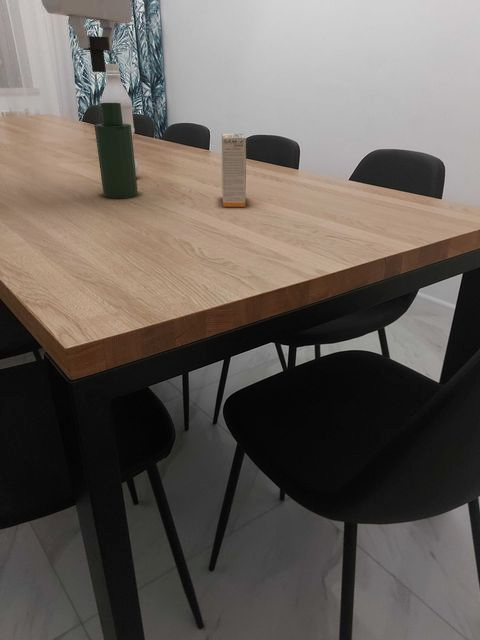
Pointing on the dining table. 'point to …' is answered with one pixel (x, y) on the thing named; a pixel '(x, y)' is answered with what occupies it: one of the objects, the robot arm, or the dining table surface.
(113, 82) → the water bottle
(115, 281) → the dining table surface
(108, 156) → the glass bottle
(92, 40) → the stopper
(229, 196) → the supplement box
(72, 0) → the robot arm
